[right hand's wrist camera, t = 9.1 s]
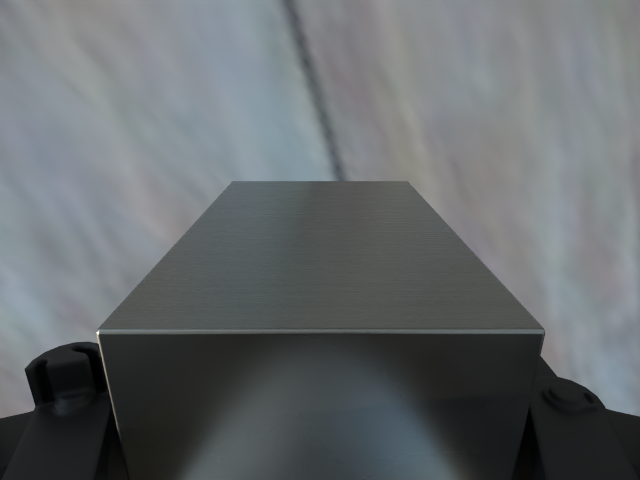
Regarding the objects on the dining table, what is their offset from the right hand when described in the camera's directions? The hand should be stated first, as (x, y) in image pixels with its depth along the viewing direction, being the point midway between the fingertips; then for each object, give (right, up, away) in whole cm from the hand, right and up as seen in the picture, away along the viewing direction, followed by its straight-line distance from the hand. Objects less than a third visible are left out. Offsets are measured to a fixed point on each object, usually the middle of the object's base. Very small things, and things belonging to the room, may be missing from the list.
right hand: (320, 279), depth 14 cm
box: (0, -8, +3) cm, 8 cm away
